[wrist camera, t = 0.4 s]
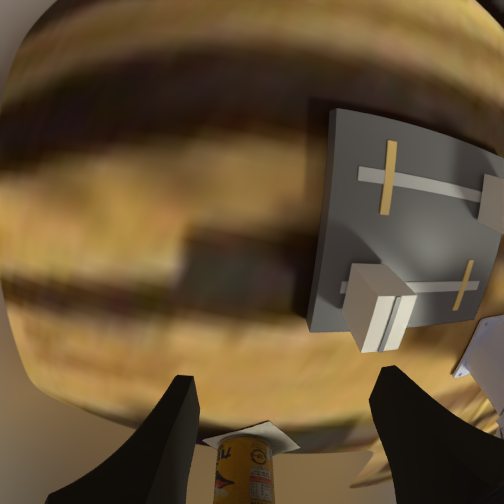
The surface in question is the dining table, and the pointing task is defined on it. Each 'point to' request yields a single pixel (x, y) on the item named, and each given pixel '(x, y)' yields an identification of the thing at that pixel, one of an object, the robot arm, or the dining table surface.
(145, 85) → the dining table surface
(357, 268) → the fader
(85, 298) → the dining table surface
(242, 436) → the condiment
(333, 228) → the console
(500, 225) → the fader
